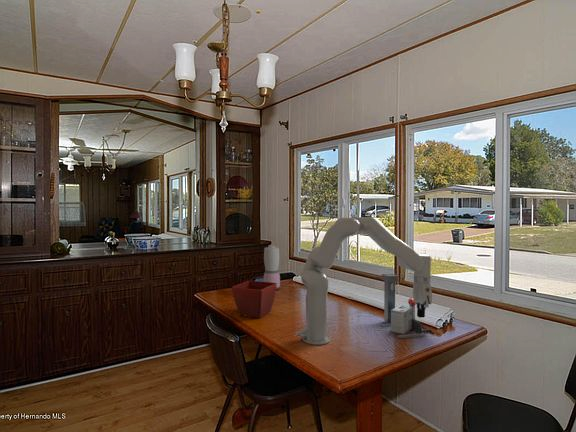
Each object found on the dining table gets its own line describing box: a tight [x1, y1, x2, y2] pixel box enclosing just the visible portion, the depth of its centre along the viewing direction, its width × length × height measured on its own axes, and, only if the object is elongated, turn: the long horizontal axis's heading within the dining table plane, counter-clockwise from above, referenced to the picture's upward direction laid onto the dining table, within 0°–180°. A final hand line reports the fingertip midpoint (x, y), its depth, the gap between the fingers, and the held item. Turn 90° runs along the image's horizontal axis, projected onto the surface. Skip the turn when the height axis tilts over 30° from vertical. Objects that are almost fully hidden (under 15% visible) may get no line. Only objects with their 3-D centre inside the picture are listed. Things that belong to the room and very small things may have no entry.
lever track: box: [422, 325, 435, 336], centre depth 175 cm, size 6×20×1 cm, turn 11°
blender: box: [263, 245, 281, 290], centre depth 261 cm, size 16×12×32 cm
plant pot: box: [231, 280, 277, 319], centre depth 198 cm, size 19×19×17 cm
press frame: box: [381, 273, 425, 339], centre depth 174 cm, size 14×24×25 cm, turn 11°
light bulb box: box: [390, 304, 413, 335], centre depth 172 cm, size 11×7×11 cm, turn 140°
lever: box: [407, 297, 417, 320], centre depth 180 cm, size 4×5×13 cm
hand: (420, 316), depth 171 cm, fingers closed
